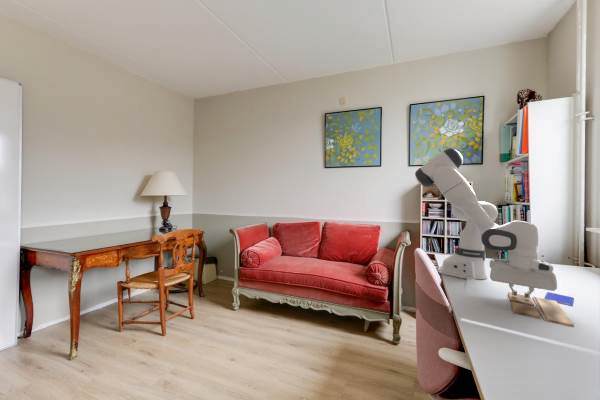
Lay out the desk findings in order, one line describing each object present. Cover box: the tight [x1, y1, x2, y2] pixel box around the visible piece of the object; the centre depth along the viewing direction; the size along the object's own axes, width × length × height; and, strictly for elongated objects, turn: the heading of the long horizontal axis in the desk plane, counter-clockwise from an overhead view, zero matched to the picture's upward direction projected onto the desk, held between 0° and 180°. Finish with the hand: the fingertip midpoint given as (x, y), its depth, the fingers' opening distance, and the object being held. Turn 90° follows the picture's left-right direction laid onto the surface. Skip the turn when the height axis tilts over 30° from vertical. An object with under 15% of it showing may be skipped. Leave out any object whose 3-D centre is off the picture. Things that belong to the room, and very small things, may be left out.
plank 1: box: [507, 291, 535, 307], centre depth 105 cm, size 7×10×1 cm
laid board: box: [532, 296, 575, 327], centre depth 95 cm, size 7×23×1 cm, turn 146°
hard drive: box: [543, 291, 575, 307], centre depth 107 cm, size 2×8×12 cm
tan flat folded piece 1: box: [510, 302, 541, 320], centre depth 95 cm, size 7×10×1 cm
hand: (520, 296), depth 105 cm, fingers open, 2 cm apart
